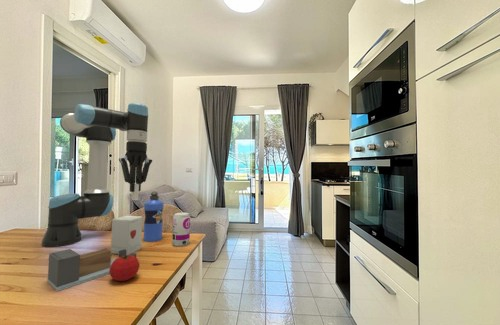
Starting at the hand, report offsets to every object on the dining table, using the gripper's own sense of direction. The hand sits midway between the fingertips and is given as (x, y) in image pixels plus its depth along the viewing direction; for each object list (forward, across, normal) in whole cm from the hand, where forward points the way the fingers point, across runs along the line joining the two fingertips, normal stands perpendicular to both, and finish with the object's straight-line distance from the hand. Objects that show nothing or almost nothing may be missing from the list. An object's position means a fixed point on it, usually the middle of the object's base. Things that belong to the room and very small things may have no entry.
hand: (134, 199), depth 91 cm
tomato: (+25, -9, -13) cm, 29 cm away
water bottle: (+25, +21, +20) cm, 38 cm away
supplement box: (+25, +4, +13) cm, 28 cm away
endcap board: (+24, -13, 0) cm, 28 cm away
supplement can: (+25, +25, +2) cm, 35 cm away
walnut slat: (+23, -16, 0) cm, 28 cm away
